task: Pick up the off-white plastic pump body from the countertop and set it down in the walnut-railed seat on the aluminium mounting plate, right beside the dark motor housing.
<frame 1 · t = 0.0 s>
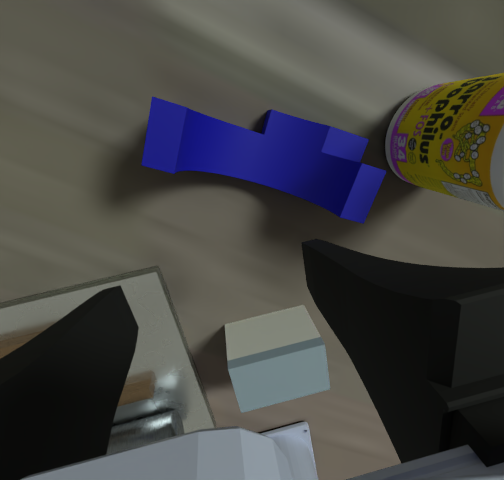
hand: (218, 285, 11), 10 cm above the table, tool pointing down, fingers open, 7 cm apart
supplement bottle: (421, 137, 21), on the table
pump body: (268, 333, 25), on the table
cable clip: (256, 145, 20), on the table
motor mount: (99, 378, 24), on the table
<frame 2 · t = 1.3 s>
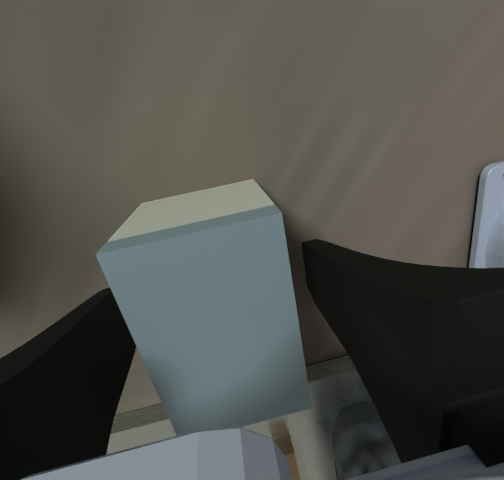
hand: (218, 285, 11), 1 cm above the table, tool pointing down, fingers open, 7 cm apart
pump body: (218, 266, 13), on the table
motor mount: (272, 469, 18), on the table
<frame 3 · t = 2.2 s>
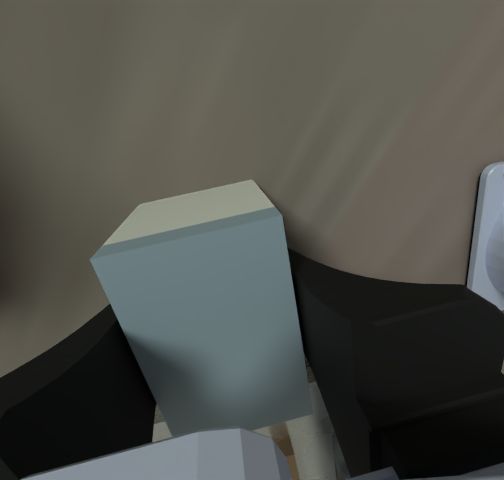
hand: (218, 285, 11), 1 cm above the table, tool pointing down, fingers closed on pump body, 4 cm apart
pump body: (217, 268, 13), on the table, touching gripper
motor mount: (272, 470, 18), on the table
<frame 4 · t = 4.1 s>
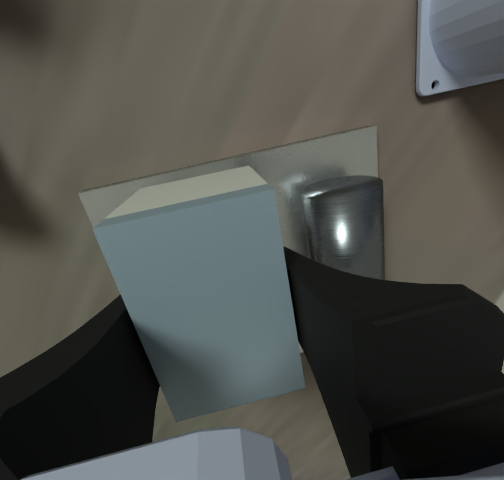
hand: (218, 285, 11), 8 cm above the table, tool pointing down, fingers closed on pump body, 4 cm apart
pump body: (215, 253, 13), point 6 cm above the table, touching gripper
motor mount: (255, 268, 21), on the table
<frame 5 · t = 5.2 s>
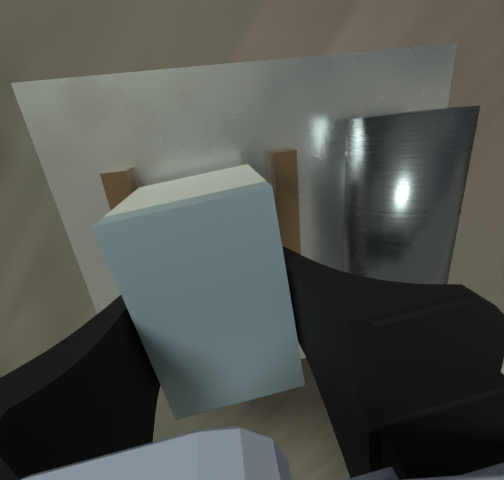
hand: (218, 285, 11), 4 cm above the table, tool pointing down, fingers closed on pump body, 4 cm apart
pump body: (214, 252, 13), point 2 cm above the table, touching gripper
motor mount: (262, 237, 15), on the table
when the fingers open (4 cm above the table, at t = 6.1 s): pump body stays where it is, resting on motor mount.
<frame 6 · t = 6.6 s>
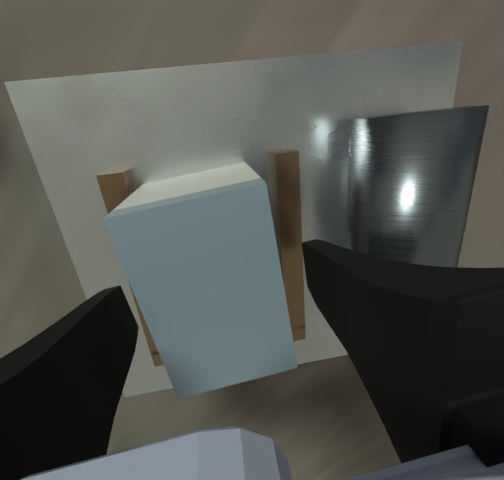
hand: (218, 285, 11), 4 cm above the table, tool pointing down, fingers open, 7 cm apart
pump body: (213, 245, 14), point 1 cm above the table, touching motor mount
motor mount: (263, 239, 15), on the table
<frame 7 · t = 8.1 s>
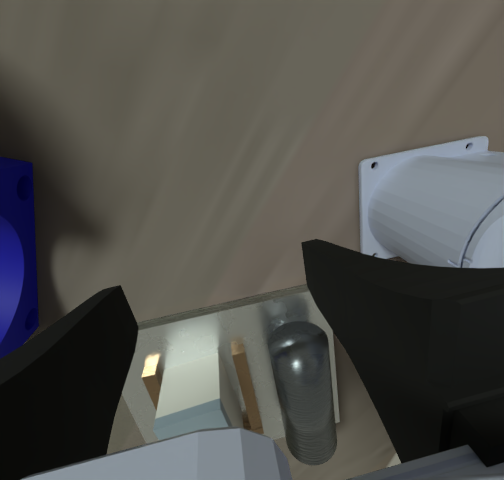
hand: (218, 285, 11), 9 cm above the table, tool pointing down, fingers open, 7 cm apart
pump body: (205, 390, 24), point 1 cm above the table, touching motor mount
cable clip: (0, 245, 19), on the table
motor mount: (234, 377, 26), on the table
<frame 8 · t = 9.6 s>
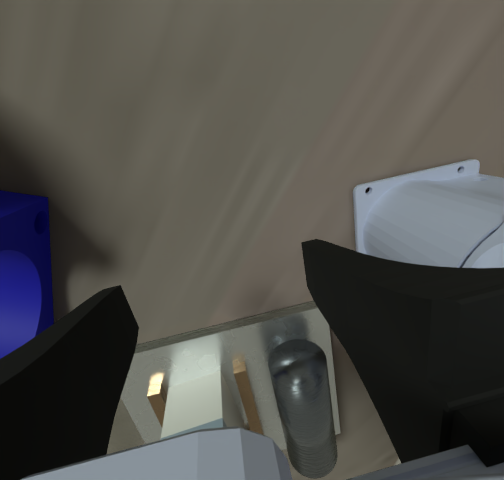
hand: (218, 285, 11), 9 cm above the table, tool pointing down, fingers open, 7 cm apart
pump body: (208, 406, 25), point 1 cm above the table, touching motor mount
cable clip: (18, 274, 20), on the table
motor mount: (237, 393, 26), on the table
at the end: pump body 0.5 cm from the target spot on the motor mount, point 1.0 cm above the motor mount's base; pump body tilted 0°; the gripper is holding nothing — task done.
